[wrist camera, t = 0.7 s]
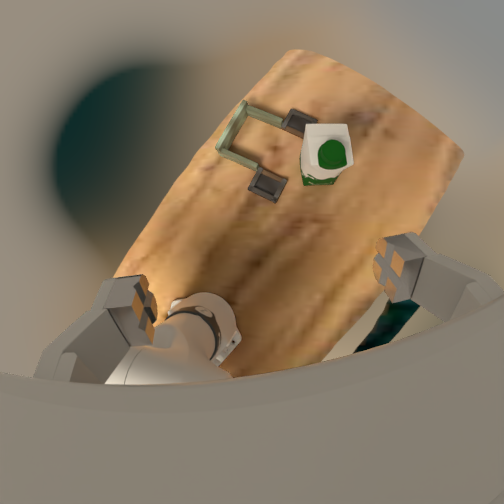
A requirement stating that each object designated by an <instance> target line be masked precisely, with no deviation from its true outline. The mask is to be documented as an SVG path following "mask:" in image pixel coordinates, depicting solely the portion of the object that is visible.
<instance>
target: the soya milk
mask: <svg viewBox="0 0 504 504" xmlns="http://www.w3.org/2000/svg"><path fill="white" fill-rule="evenodd" d="M353 164H354V161H353V154H352V147H351V140H350V136H349V132H348V127H347V124H306V127H305V133H304V139H303V145H302V149H301V154H300V169H301V175H302V180H303V185H304V186H308V185H333V184H334V182H335V180H336V179H337V177H338V176H339V174H340V173H341V172H342V171H343V170H344V169H346V168H348V167H350V166H352V165H353Z"/></svg>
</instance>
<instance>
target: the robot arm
mask: <svg viewBox="0 0 504 504" xmlns="http://www.w3.org/2000/svg"><path fill="white" fill-rule="evenodd" d="M376 250H377V251H378V254H377V255H376V257H375V258H374V262H373V272H374V275H375V278H376V280H377V281H378V283H380V284H382V285H384V286H385V290H384V291H385V293H386V294H387V296H388V297H389V299H390V300H391V302H392V303H395V302H399V301H403V300H407V299H411V300H413V301H414V302H416V303H417V304H419V305H420V306H422V307H423V308H425V309H426V310H428V311H429V312H431V313H432V314H434V315H435V316H437V317H438V318H440V319H441V320H442V321H444V322H445V323H442V324H440V325H437V326H435V327H432V328H430V329H427V330H425V331H422V332H419V333H417V334H414V335H411V336H408V337H406V338H403V339H400V340H397V341H394V342H391V343H388V344H385V345H381V346H378V347H375V348H372V349H368V350H365V351H362V352H358V353H355V354H351V355H347V356H344V357H340V358H336V359H332V360H328V361H324V362H319V363H315V364H310V365H306V366H301V367H296V368H291V369H286V370H281V371H275V372H270V373H264V374H257V375H251V376H244V377H236V378H233V377H232V376H231V374H230V373H229V372H227V371H225V370H223V369H221V368H220V367H218V366H219V365H220V364H221V363H222V362H223V361H224V360H225V358H226V357H227V356H228V355H229V354H230V353H231V352H232V351H233V349H234V348H235V347H236V346H237V345H238V344H239V343H240V341H241V340H242V336H241V334H240V332H239V330H238V329H237V326H236V319H235V315H234V312H233V310H232V308H231V307H230V305H229V304H228V303H227V302H226V301H225V300H224V299H223V298H221V297H219V296H218V295H215V294H213V293H208V292H200V293H196V294H193V295H191V296H189V297H187V298H185V299H177V300H174V301H173V302H172V304H171V308H170V310H169V311H168V314H169V315H168V317H167V318H166V319H165V321H164V322H162V323H161V324H159V325H158V326H156V327H155V328H154V327H153V325H152V324H153V323H154V322H155V321H156V320H157V314H158V312H157V303H156V299H155V297H154V294H153V293H151V292H150V291H149V290H148V286H149V283H148V280H147V278H146V276H145V275H143V274H141V275H133V276H125V277H118V278H110V279H105V280H104V281H103V282H102V285H101V287H100V289H99V291H98V294H97V296H96V298H95V300H94V303H93V305H92V307H91V310H90V311H86V312H85V313H84V314H83V315H82V316H80V317H79V318H78V319H77V320H76V321H75V322H74V323H72V324H71V325H70V326H69V327H68V328H67V329H66V330H65V331H64V332H63V333H61V334H60V335H59V336H58V337H57V338H56V339H55V340H54V341H53V342H52V343H51V344H50V345H49V346H48V347H47V348H45V350H43V352H42V355H41V357H40V360H39V363H38V365H37V368H36V371H35V374H34V376H33V378H32V377H25V376H19V375H14V374H8V373H3V372H0V504H504V291H503V290H502V289H501V287H500V286H499V285H498V284H497V283H496V282H495V281H494V280H493V279H492V278H491V277H490V276H489V275H488V274H486V273H483V272H482V271H479V270H477V269H475V268H473V267H470V266H468V265H466V264H463V263H461V262H458V261H457V260H454V259H452V258H449V257H447V256H445V255H442V254H437V253H436V252H435V251H433V249H431V248H430V247H429V246H428V245H427V244H426V243H425V242H424V241H423V240H422V239H421V238H420V237H419V236H418V235H417V234H416V233H413V232H409V233H404V234H400V235H395V236H389V237H384V238H379V239H378V241H377V244H376ZM233 340H234V341H235V343H233V342H232V341H233ZM145 345H146V346H145Z"/></svg>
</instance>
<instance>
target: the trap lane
mask: <svg viewBox="0 0 504 504" xmlns="http://www.w3.org/2000/svg"><path fill="white" fill-rule="evenodd" d="M247 116H251V117H253V118H256V119H258V120H261V121H263V122H266V123H268V124H270V125H273V126H275V127H278V128H280V129H282V130H285V131H287V132H289V133H291V134H294V135H296V136H298V137H300V138H302V139H304V133H305V127H306V124H317V121H318V120H316V119H314V118H312V117H310V116H307V115H305V114H303V113H301V112H298V111H296V110H294V109H291V110H290V111H289V113H288V115H287V117H286V119H285V120H284V122H283V119H282V118H280V117H278V116H275V115H273V114H270V113H268V112H265V111H263V110H260V109H257V108H255V107H252V106H249V105H248V103H247V101H245V100H243V101H242V102H241V104H240V106H239V107H238V109H237V110H236V112H235V114H234V115H233V117H232V119H231V120H230V122H229V124H228V125H227V127H226V129H225V130H224V132H223V134H222V136H221V137H220V139H219V141H218V143H217V144H216V146H215V149H216V150H217V151H218V153H219V154H220V156H222V157H224V158H227V159H229V160H231V161H234V162H236V163H238V164H240V165H243V166H245V167H247V168H249V169H252V170H254V171H256V174H255V176H254V178H253V180H252V181H251V183H250V185H249V187H248V190H249V191H251V192H253V193H255V194H258V195H260V196H262V197H264V198H266V199H268V200H270V201H272V202H274V203H276V202H277V200H278V198H279V196H280V194H281V192H282V190H283V188H284V186H285V184H286V182H287V180H286V179H284V178H281V177H279V176H277V175H274V174H272V173H270V172H268V171H266V170H264V169H263V168H261V167H259V164H258V163H256V162H253V161H251V160H249V159H247V158H244V157H242V156H240V155H238V154H235V153H233V152H230V151H228V149H229V147H230V146H231V144H232V142H233V140H234V139H235V137H236V135H237V133H238V132H239V130H240V128H241V127H242V125H243V123H244V121H245V120H246V118H247Z"/></svg>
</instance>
